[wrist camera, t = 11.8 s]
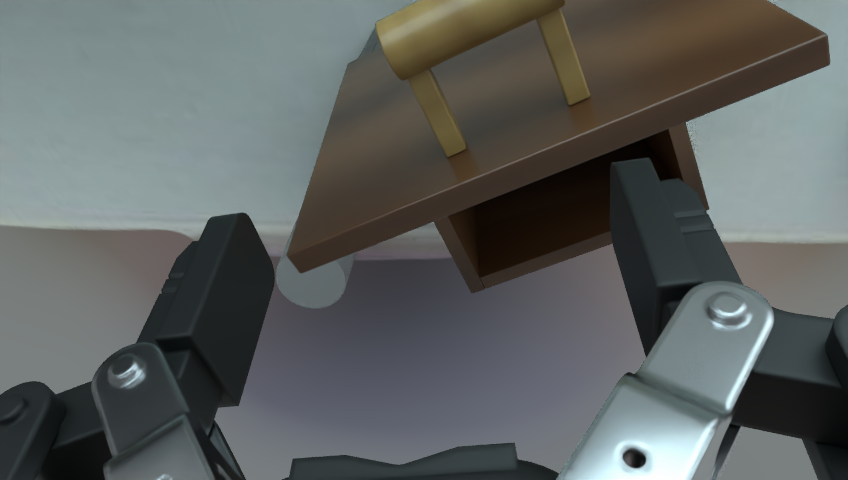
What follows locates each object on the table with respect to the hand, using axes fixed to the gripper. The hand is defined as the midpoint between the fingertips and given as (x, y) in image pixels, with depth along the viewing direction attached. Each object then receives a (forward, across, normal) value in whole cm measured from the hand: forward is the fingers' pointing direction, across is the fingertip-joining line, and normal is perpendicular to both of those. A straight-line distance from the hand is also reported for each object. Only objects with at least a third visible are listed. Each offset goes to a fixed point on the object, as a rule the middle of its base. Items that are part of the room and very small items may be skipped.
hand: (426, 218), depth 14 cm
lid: (+13, -2, +3) cm, 13 cm away
